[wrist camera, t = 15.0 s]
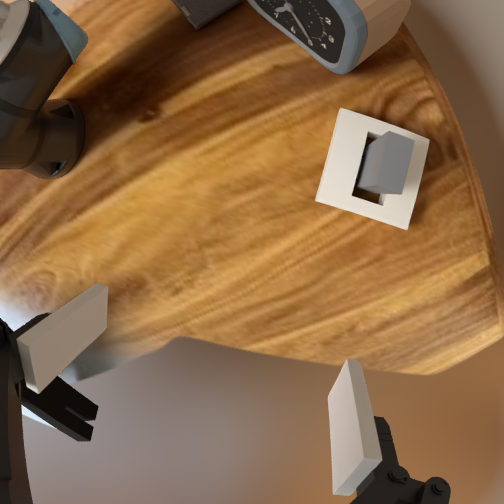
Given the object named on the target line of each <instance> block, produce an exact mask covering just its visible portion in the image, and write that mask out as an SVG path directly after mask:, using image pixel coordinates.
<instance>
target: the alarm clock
mask: <svg viewBox="0 0 504 504" xmlns="http://www.w3.org/2000/svg"><path fill="white" fill-rule="evenodd" d="M247 1H248V2H249V4H250V5H251V6H252V7H253V8H254V9H255V10H256V11H257V12H258V13H259V14H261V15H262V16H263V17H264V18H265V19H267V20H268V21H269V22H270V23H271V24H273V25H274V26H275V27H277V28H278V29H279V30H280V31H282V32H283V33H284V34H286V35H287V36H288V37H289V38H291V39H292V40H293V41H294V42H295V43H297V44H298V45H299V46H300V47H301V48H303V49H304V50H305V51H306V52H307V53H308V54H310V55H311V56H312V57H313V58H314V59H316V60H317V61H318V62H319V63H321V64H322V65H323V66H324V67H326V68H327V69H329V70H330V71H332V72H334V73H337V74H341V75H343V74H346V73H349V72H350V71H351V70H352V69H354V68H355V67H356V66H357V65H359V64H360V63H361V62H362V61H364V60H365V59H366V58H368V57H369V56H370V55H371V54H373V53H374V52H375V51H377V50H378V49H379V48H380V47H382V46H383V45H384V44H386V43H387V42H388V41H390V40H391V39H392V38H393V37H394V36H395V34H396V32H397V31H398V29H399V27H400V25H401V24H402V22H403V20H404V18H405V17H406V15H407V13H408V11H409V9H410V6H411V3H412V2H411V1H412V0H247Z"/></svg>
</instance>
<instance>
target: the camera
mask: <svg viewBox="0 0 504 504" xmlns="http://www.w3.org/2000/svg"><path fill="white" fill-rule="evenodd" d="M172 1H173V3H174V4H175V5H176V6H177V8H178V9H179V10H180V11H181V13H182V14H183V15H184V16H185V18H186V19H187V20H188V21H189V22H190V24H191V25H192V26H193V27H194V28H195V29H197V30H198V29H199V28H201V27H202V26H204V25H205V24H207V23H208V22H210V21H211V20H213V19H214V18H216V17H218V16H219V15H221V14H222V13H224V12H226V11H227V10H229V9H230V8H232V7H234V6H235V5H237V4H239V3H241V2H242V1H243V0H172Z"/></svg>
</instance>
